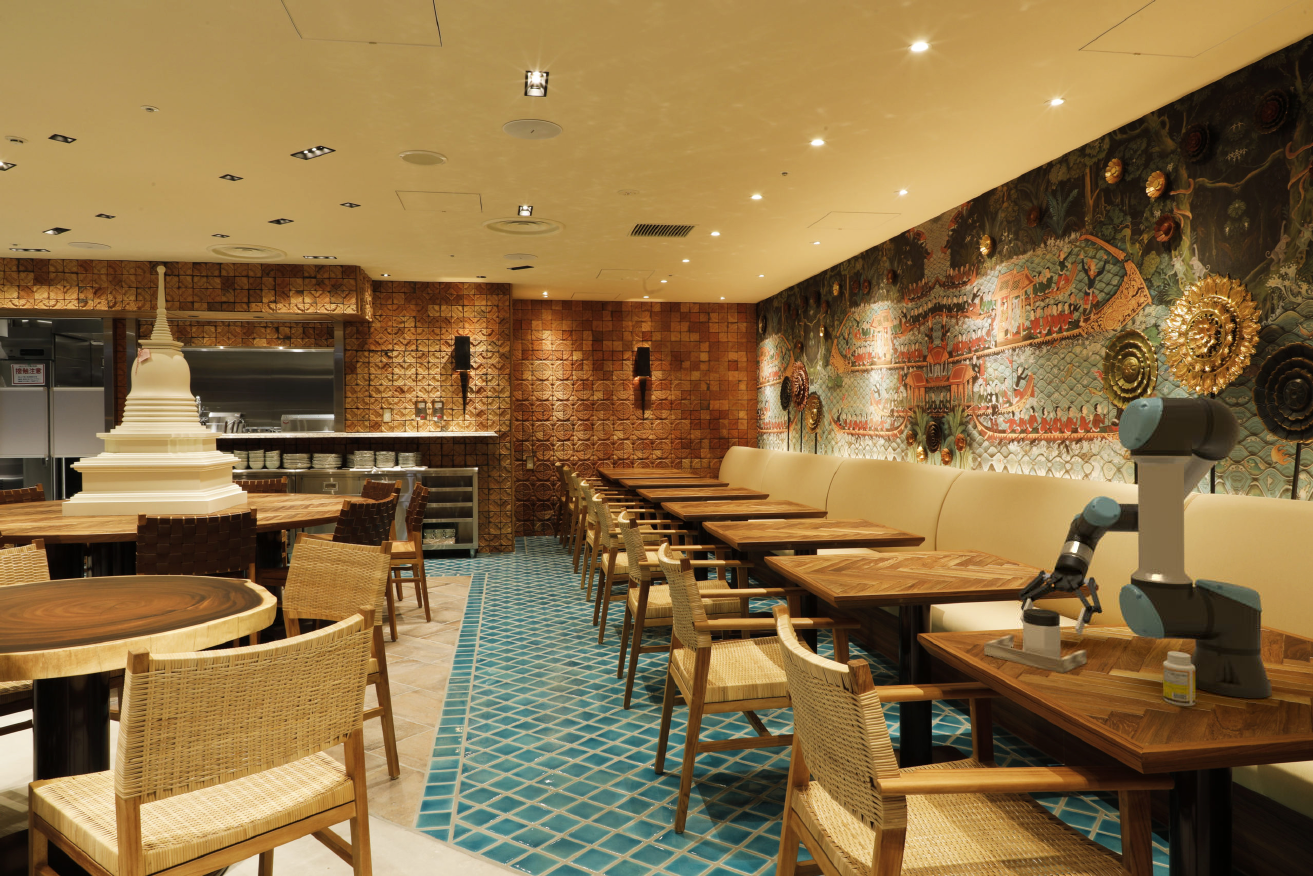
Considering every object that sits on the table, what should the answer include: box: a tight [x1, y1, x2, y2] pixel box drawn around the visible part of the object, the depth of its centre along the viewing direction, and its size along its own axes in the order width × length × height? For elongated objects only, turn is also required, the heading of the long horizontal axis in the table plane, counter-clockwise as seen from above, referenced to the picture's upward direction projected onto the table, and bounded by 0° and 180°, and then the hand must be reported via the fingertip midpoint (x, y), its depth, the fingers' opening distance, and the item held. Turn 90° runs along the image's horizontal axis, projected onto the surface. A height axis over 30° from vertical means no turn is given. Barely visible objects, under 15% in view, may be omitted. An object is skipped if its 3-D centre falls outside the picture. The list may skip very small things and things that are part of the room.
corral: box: [983, 634, 1087, 674], centre depth 187 cm, size 14×19×3 cm
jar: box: [1022, 608, 1061, 659], centre depth 186 cm, size 9×8×12 cm
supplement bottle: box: [1162, 650, 1197, 707], centre depth 156 cm, size 6×6×10 cm
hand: (1049, 626), depth 192 cm, fingers open, 13 cm apart
